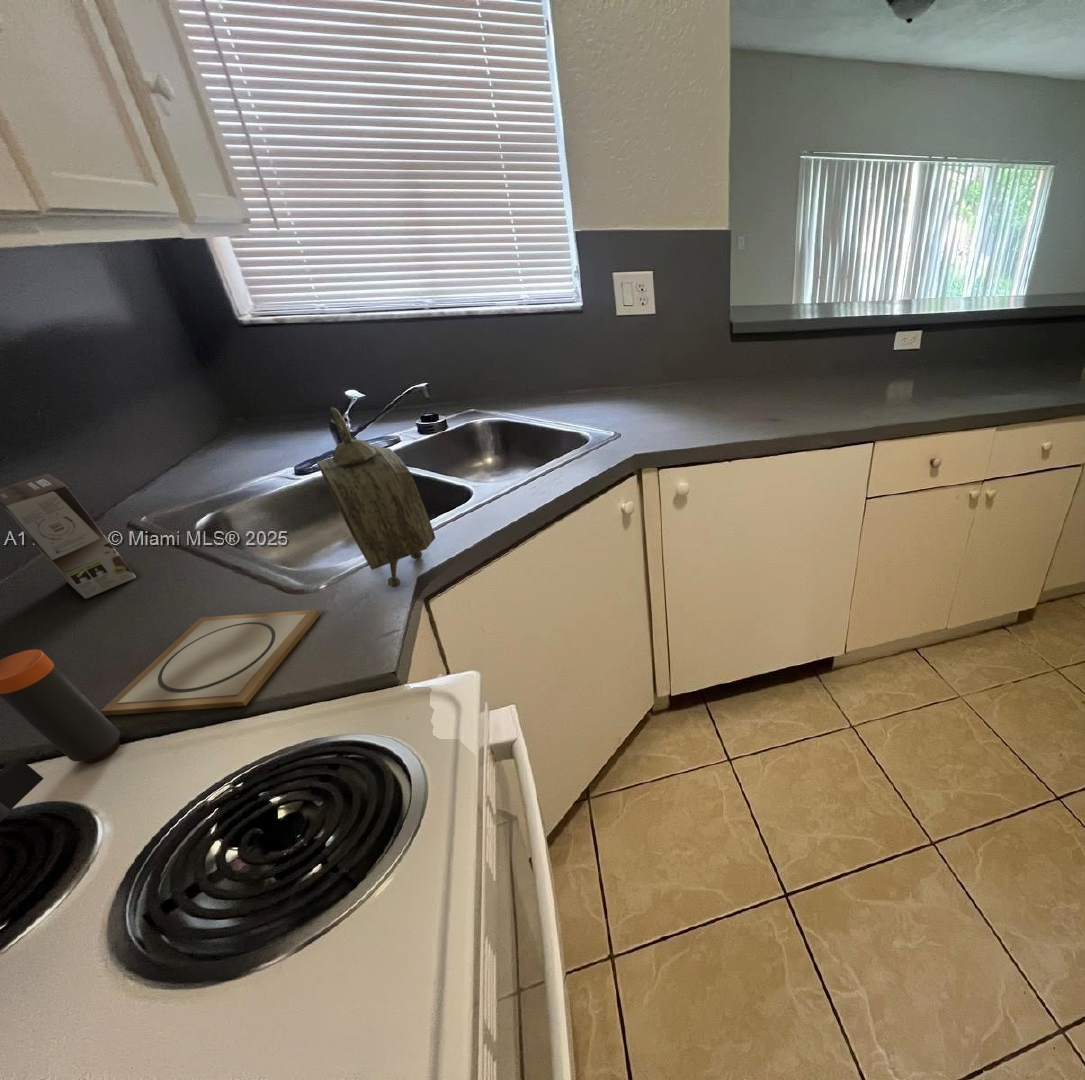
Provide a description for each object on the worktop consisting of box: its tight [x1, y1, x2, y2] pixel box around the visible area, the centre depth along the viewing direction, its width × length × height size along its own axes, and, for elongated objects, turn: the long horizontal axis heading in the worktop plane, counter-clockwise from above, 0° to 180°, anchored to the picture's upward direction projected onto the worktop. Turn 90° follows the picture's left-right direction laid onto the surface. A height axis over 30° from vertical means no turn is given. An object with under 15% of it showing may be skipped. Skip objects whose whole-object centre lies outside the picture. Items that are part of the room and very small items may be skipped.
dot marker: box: [0, 649, 121, 764], centre depth 57 cm, size 4×4×13 cm
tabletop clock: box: [316, 407, 436, 589], centre depth 80 cm, size 14×9×25 cm, turn 41°
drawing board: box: [99, 609, 322, 717], centre depth 71 cm, size 16×16×1 cm
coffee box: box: [0, 473, 137, 600], centre depth 83 cm, size 9×6×16 cm
